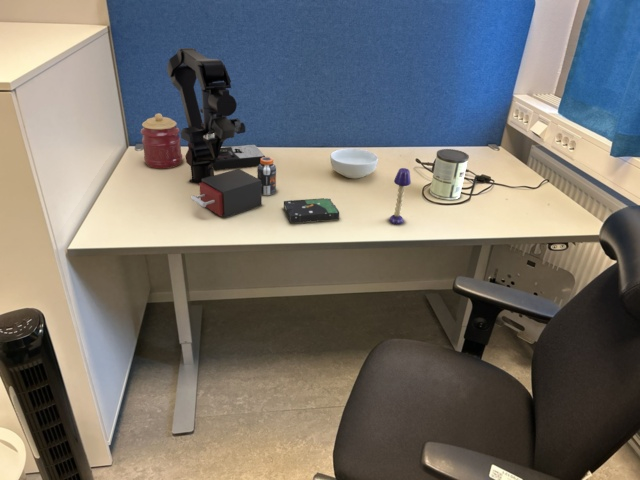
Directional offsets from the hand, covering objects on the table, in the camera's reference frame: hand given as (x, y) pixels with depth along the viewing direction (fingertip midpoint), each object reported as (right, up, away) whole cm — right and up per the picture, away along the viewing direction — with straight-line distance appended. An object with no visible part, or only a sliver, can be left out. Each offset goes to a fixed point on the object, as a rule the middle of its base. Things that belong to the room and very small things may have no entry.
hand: (215, 158), depth 142 cm
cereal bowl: (+43, -1, +28) cm, 52 cm away
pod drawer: (+2, -15, -2) cm, 15 cm away
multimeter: (0, +4, +32) cm, 32 cm away
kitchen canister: (-25, +3, +27) cm, 37 cm away
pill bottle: (+14, -9, +11) cm, 20 cm away
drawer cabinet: (+5, -14, +1) cm, 15 cm away
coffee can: (+74, -9, +18) cm, 77 cm away
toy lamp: (+54, -20, -2) cm, 58 cm away
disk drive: (+29, -17, -1) cm, 34 cm away
